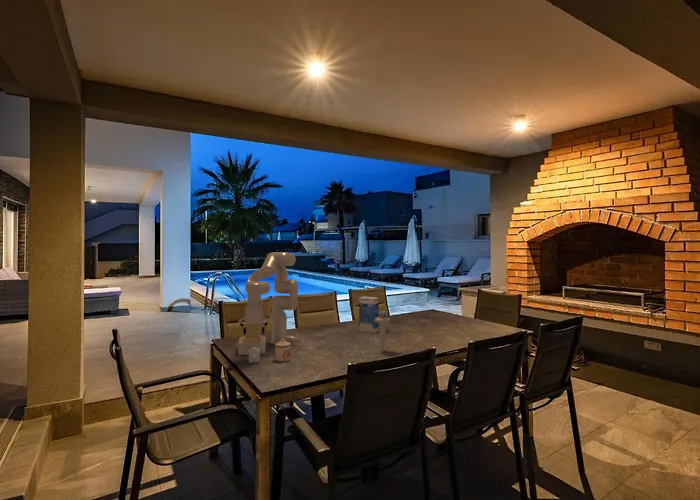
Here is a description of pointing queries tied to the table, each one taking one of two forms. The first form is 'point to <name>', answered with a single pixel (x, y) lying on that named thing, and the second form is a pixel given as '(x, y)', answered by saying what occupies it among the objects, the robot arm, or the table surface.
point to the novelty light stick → (382, 328)
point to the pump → (254, 354)
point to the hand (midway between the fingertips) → (253, 334)
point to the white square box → (251, 344)
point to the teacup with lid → (283, 350)
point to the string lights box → (368, 314)
